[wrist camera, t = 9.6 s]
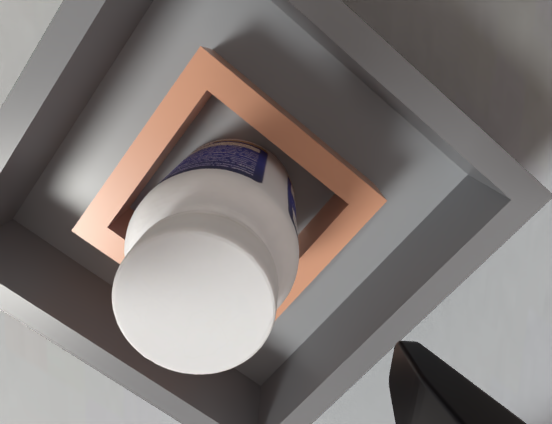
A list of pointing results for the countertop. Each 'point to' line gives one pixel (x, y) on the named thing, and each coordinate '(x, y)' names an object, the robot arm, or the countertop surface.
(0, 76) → the countertop surface
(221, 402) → the walled box
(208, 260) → the pill bottle
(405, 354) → the robot arm
